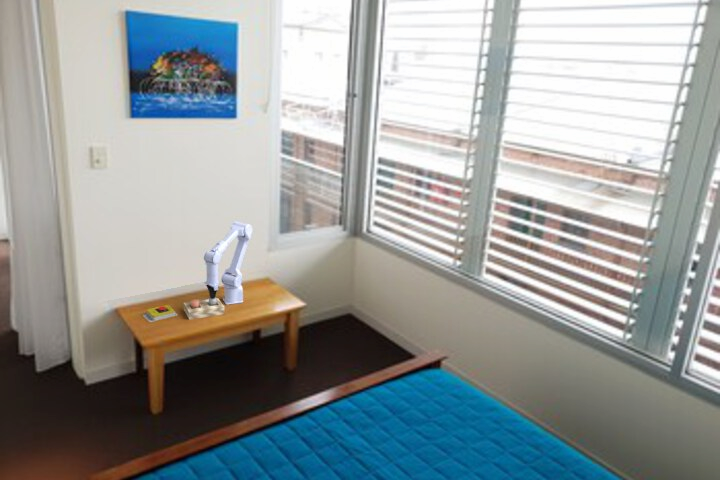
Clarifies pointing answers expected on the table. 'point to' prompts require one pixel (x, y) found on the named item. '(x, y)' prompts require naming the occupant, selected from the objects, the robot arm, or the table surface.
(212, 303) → the grey button
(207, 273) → the robot arm
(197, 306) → the terracotta button
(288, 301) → the table surface
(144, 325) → the table surface
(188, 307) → the button panel
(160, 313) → the emergency button
